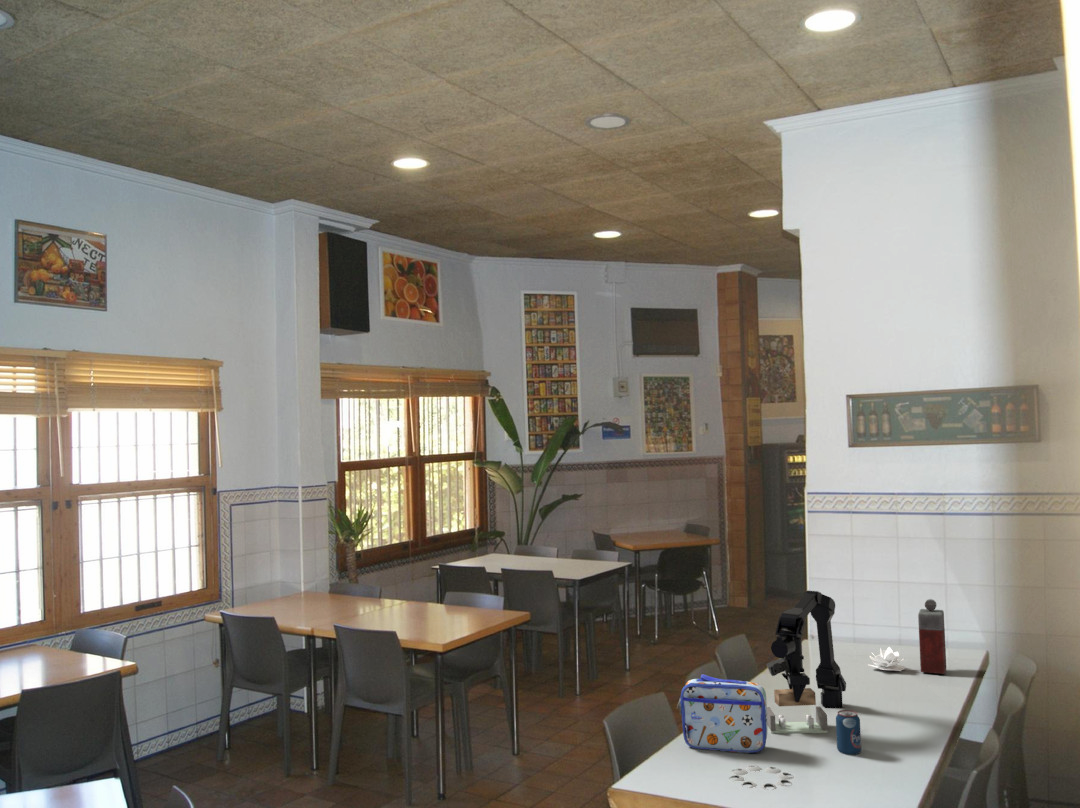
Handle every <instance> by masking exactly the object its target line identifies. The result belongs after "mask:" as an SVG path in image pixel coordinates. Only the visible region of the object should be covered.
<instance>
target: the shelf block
mask: <svg viewBox="0 0 1080 808" xmlns="http://www.w3.org/2000/svg"><path fill="white" fill-rule="evenodd" d="M773 694H774V703H775V704H776V705H777V706H778V707H797V706H798V707H799V706H802V707H803V706H816V705H817V703H816V700H817V699H816V692H815V691H814V690H813V689H812V688H810V687H809V688H807V687H805V689H804V691H803V693H802V696H801V698H800V700H799V702H795V699H794V694H793V690H792V689H789V688H782V689H781V688H780V689H774V693H773Z"/></svg>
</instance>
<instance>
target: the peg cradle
mask: <svg viewBox="0 0 1080 808" xmlns="http://www.w3.org/2000/svg"><path fill="white" fill-rule="evenodd" d="M805 716H806V718H805V719H806V721H786V718H785V717H784V714H783V715H782V714H779V715H778V721H776V714H775V713H774V711H773V710H772V709H771V707H770V706H769V707H768V706H767V720H768V726H767V730H768V731H769V732H770V734H819V733H820V734H821V733H822V734H824V733H825V734H827V733H829V731H828V729H829V728H828V714H827V713H826V712H825V710H824V709H823V708H822V706H815V721H814V717H812V715H811V714H806V715H805Z"/></svg>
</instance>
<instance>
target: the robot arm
mask: <svg viewBox="0 0 1080 808" xmlns="http://www.w3.org/2000/svg"><path fill="white" fill-rule="evenodd" d="M835 610H836V602H835V600H834V599H833V598H832V597H830V596H827V595H825V594H823V593H821V592H820V591H818V590H805V591H804V592H803V596H802V597H801V598H800V599H799V601H797V603H796V604H795V605H794V606H793V607H792V608H789V609H786V610H785V611H783V612H782V613H781V614H780V615H779V617H778V621H777V626H776V630H775V634H774V635H775V636H776V640H774V641H773V642H772V644H771V646H770V651H771V652H772V654H773V656H774V657H776V658H778V659H776V660H773V661H770V662H768V663H766V666H767V667H766V668H767V669H768V672H769V674H770V675H771V676H772V677H775V676H777V675H778V674H781V676H782V677H783V678H784V679H785V680H786V682H787V685H788V689H792V690H793V694H794V699H795V702H799V700H800V698H801V696H802V693H803V691H804V689H805V688H807V687H806V686H808V685H810V684H811V679H810V677H809V676H808V675H807V674H806V673H805V668H804V667H803V664H804V663H803V660H805V659H804V658H805V657H804V655H803V646H802V644H803V642H802V640H803V639H802V636H803V637H804V633H803V632H804V628H805V626H806V620H805V619H806V618H807V617H808V615H809V614H810V616H811V617H812V618H813V619H814V621H815V622H816V632H817V639H818V640H817V641H818V651H819V660H820V662H819V664H818V666H817V668H816V669H815V681H816V685H817V689H820V690H821V691H820V704H821V705H822V707H824V709H845V707H844V705H843V692H846V690H847V681H846V679H845V678H844V676H843V674H842V671H841V667H840V666H839V665H838V662H836V660H835V651H834V641H833V632H832V623H831V620H832V619H833V617H834V615H835Z"/></svg>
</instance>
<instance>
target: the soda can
mask: <svg viewBox="0 0 1080 808" xmlns="http://www.w3.org/2000/svg"><path fill="white" fill-rule="evenodd" d="M835 730H836V748H837V751H838V752H839V753H841V754H842V755H849V756H850V755H851V756H853V755H854V756H855V755H860V753H861V751H862V738H861V737H862V736H861V735H862V734H861V733H862V732H861V720H860V716H859V714H858V712H857V711H854V710H851V709H841V710H838V711H837V714H836V717H835Z"/></svg>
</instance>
